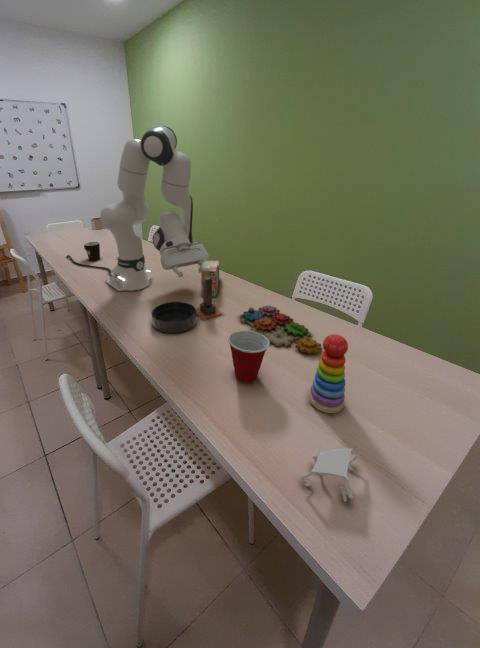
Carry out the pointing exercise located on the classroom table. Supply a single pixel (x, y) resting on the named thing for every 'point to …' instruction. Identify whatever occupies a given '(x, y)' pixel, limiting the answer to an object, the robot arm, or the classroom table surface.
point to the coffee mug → (93, 250)
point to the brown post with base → (207, 297)
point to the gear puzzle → (280, 328)
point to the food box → (211, 275)
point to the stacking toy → (330, 376)
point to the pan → (174, 317)
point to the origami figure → (334, 466)
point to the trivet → (208, 315)
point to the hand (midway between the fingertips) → (191, 274)
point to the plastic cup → (247, 353)
